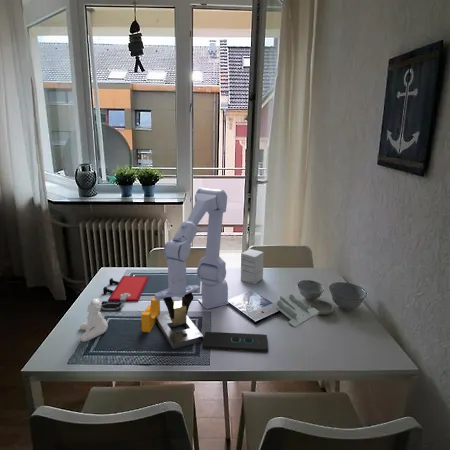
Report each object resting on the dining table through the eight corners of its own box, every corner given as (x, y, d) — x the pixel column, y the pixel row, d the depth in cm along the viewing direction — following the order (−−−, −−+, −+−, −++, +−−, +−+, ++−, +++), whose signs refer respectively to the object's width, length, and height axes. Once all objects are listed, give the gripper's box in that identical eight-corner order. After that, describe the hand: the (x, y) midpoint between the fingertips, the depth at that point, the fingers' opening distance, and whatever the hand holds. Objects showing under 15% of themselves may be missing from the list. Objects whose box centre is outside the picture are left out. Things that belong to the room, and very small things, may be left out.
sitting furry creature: (79, 327, 124) (76, 295, 121) (106, 322, 127) (104, 290, 124) (81, 343, 116) (77, 308, 113) (110, 337, 119) (107, 303, 116)
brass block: (182, 316, 124) (181, 300, 123) (186, 322, 121) (186, 305, 119) (170, 319, 123) (170, 303, 121) (174, 325, 119) (174, 308, 118)
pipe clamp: (148, 313, 134) (147, 297, 132) (160, 314, 134) (159, 298, 132) (136, 331, 123) (135, 314, 121) (149, 332, 122) (148, 315, 120)
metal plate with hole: (183, 315, 133) (183, 309, 132) (203, 340, 118) (203, 335, 117) (155, 321, 129) (155, 316, 128) (173, 349, 113) (173, 343, 113)
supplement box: (249, 274, 168) (249, 248, 165) (263, 278, 164) (264, 251, 161) (240, 280, 163) (240, 253, 159) (254, 284, 158) (255, 256, 155)
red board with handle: (92, 311, 135) (133, 312, 135) (91, 304, 134) (133, 305, 134) (114, 278, 164) (149, 279, 164) (114, 272, 163) (148, 273, 163)
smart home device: (268, 349, 112) (201, 345, 113) (267, 354, 112) (201, 350, 114) (267, 333, 120) (205, 330, 121) (266, 338, 120) (205, 335, 121)
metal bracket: (268, 300, 133) (293, 288, 143) (263, 312, 136) (288, 299, 146) (299, 325, 124) (323, 310, 134) (294, 338, 127) (318, 322, 137)
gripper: (158, 286, 111) (160, 326, 115) (203, 278, 118) (203, 316, 121) (152, 277, 117) (153, 316, 121) (194, 270, 124) (195, 307, 127)
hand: (178, 315), depth 122 cm, fingers closed on brass block, 4 cm apart
